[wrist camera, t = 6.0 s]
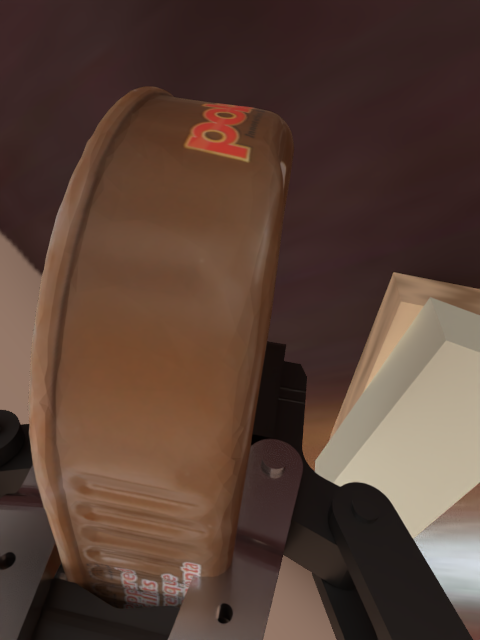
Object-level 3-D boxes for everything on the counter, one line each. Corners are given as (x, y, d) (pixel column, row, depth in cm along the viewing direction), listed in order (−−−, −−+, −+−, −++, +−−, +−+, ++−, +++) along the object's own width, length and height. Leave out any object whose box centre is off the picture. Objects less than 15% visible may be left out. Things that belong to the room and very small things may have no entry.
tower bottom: (330, 432, 40) (329, 471, 36) (392, 269, 30) (400, 301, 26) (413, 451, 39) (421, 493, 36) (507, 291, 29) (532, 328, 25)
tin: (196, 67, 10) (-168, 144, 3) (332, 85, 9) (294, 226, 2) (183, 460, 18) (88, 710, 12) (252, 477, 18) (196, 745, 11)
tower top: (315, 460, 36) (313, 508, 32) (430, 297, 25) (446, 340, 22) (401, 491, 36) (408, 542, 32) (550, 341, 25) (586, 391, 22)
